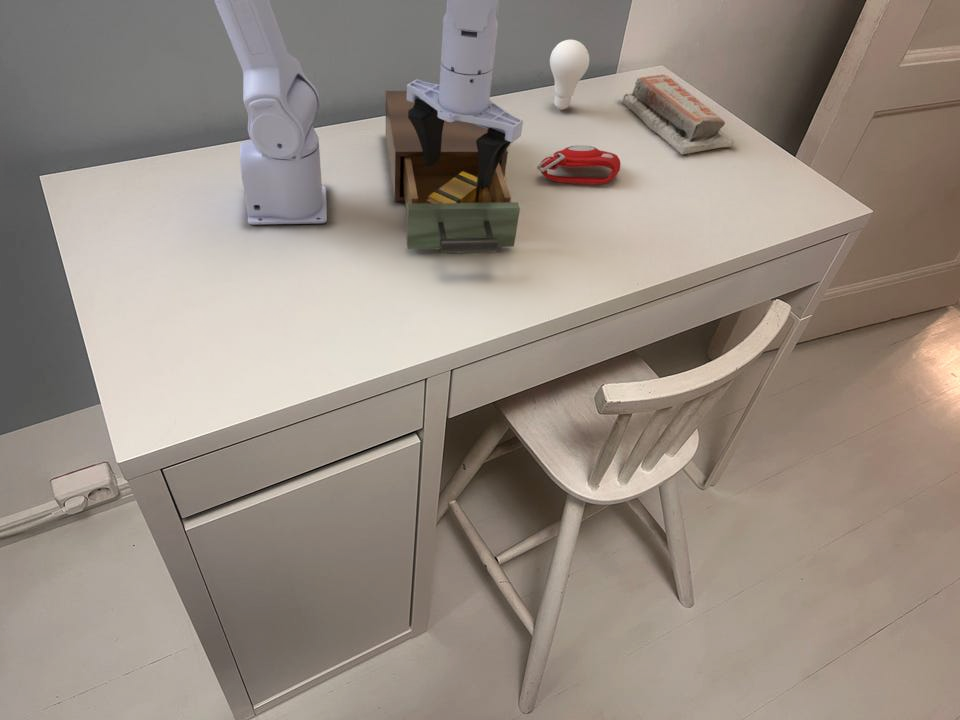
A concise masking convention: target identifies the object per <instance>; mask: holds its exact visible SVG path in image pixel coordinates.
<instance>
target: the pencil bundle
mask: <svg viewBox="0 0 960 720" xmlns="http://www.w3.org/2000/svg"><path fill="white" fill-rule="evenodd" d="M477 178H478V177H475V176H473V175H471V174H468V173H466V172H464V171H462V172H461V173H460V174H456V175H454V178H453V179H451V180H450V181H449V182H447V183H446V184H445V185H443V186H442V187H440V188H439V189H435V190H434V193H432V194H431V195H430V196H429V197H428V200H427V203H482V201H483V192H484V189H480V188H478V186H477Z"/></svg>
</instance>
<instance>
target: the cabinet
mask: <svg viewBox="0 0 960 720" xmlns="http://www.w3.org/2000/svg"><path fill="white" fill-rule="evenodd" d="M414 105H415V102H414V103H413V102H410V101H408V100H407V90H385V144H386V152H387V157H388V167H389V172H390V179H391V186H392V193H393V200H394V202H395V203H405V198H404V192H403V186H402V180H401V162H402V156H424V155H423V151H422V147H421V144H420V140H419V138H418V135H417V133H416V130H415V128H414V126H413V125H412V123H411V121H410V120H409V118H408V111H409V110H410V109H411V108H413V106H414ZM487 131H488V129H485V128H483V127H480V126H478V125H475V124H472V123H467V122H462V121H457V120H455V121H454V122H447V121H444V125H443V131H442V141H441V153H440V156H478V149H477V145H476V140H477V139H478V138H479V137H481V136H482V135H484V134H485V133H487ZM508 154H509V151H508V148H507V149H506V151H505V153H504V154H503V156H502V158H501V159H500V161H499V164H500V167H501V170H502V172H503V175H504V178H505V177H506V169H507V162H508V161H507V160H508Z"/></svg>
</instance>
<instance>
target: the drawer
mask: <svg viewBox="0 0 960 720" xmlns="http://www.w3.org/2000/svg"><path fill="white" fill-rule="evenodd" d="M478 169H479V157H478V156H440V158H439V161H437V162H436V163H434V164H433V165H432V166H430V167H429V166H427V165H426V164H425V160H424V156H402V162H401V180H402V186H403V192H404V198H405V202H404V203H405V205H404V206H405V210H406V211H405V212H406V243H405V244H406V249H407V250H427V249H428V250H430V249H433V250H434V249H439V250H440V253H442V254H453V253H454V254H457V253H458V254H459V253H495V252H497V253H498V250H499V248H513V247H515V242H516V236H517V230H518V229H517V228H518V223H519V217H520V211H521V208H520V207H521V206H520V204H519V202H515V201H514V202H512V201H511V200H512V196H511V194H510V191H509V188H508V184H507V182H506V179H505V177H504V175H503V172H502V170H501V167H500V164H499V163H498V166H497V168H496V170H495V173H494V175H493V178H492V181H491V184H489V185H488V186H487V187H485V188H484V192H483V201H482V203H427V200H428V197H429V196H430V195H431V194H432V193H434V190H435V189H439V188H440V187H442V186H443V185H445V184H446V183H447V182H449V181H450V180H451V179H453V178H454V175H456V174H460V173H461V172H462V171H464V172H466V173H468V174H471V175H473V176H475V177H478Z"/></svg>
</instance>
